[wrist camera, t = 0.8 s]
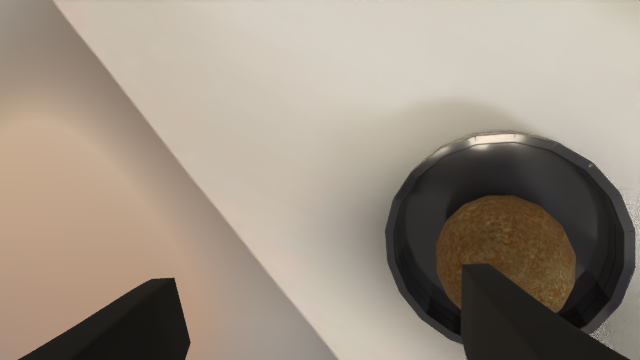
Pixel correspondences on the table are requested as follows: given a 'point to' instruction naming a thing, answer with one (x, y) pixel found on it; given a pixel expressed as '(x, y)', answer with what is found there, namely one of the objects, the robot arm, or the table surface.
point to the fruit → (508, 248)
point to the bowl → (526, 183)
